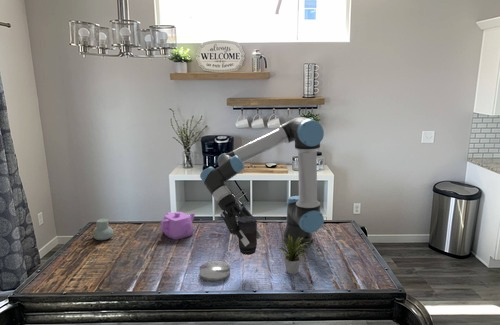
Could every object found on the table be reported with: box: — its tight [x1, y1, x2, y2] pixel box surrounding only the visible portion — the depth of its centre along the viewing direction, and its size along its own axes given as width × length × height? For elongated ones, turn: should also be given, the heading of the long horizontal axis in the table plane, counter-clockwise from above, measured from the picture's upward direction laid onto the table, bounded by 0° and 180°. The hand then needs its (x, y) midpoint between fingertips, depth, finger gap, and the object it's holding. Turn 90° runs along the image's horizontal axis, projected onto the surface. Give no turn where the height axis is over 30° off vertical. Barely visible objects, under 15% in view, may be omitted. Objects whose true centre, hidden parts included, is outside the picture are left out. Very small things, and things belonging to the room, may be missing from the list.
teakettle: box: [159, 211, 196, 241], centre depth 204 cm, size 17×17×12 cm
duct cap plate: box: [199, 260, 231, 283], centre depth 162 cm, size 13×13×3 cm
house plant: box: [278, 235, 311, 275], centre depth 162 cm, size 14×14×16 cm
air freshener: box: [92, 218, 115, 241], centre depth 199 cm, size 11×8×10 cm
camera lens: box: [237, 215, 258, 256], centre depth 162 cm, size 8×8×15 cm
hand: (253, 241), depth 160 cm, fingers closed on camera lens, 8 cm apart
